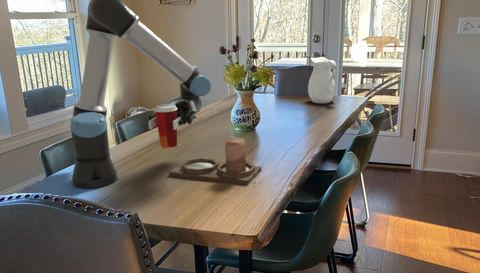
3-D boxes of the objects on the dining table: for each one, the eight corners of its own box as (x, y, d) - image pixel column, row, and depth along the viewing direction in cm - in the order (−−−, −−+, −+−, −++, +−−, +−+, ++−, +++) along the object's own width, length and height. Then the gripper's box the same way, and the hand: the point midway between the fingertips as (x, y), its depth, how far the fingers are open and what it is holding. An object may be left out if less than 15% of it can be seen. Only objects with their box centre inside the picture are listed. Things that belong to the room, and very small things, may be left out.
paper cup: (181, 142, 157) (178, 103, 154) (178, 148, 150) (175, 107, 146) (159, 143, 157) (155, 104, 154) (155, 149, 150) (151, 108, 146)
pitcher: (303, 100, 291) (303, 57, 283) (326, 98, 295) (327, 56, 288) (320, 107, 269) (321, 60, 261) (345, 105, 273) (347, 59, 266)
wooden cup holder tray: (247, 184, 150) (246, 148, 146) (168, 176, 160) (166, 141, 157) (261, 170, 163) (260, 136, 160) (188, 163, 173) (186, 131, 170)
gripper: (210, 120, 167) (192, 136, 146) (158, 120, 171) (133, 135, 150) (209, 100, 165) (191, 114, 144) (156, 100, 169) (131, 114, 148)
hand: (161, 125), depth 147 cm, fingers closed on paper cup, 8 cm apart
